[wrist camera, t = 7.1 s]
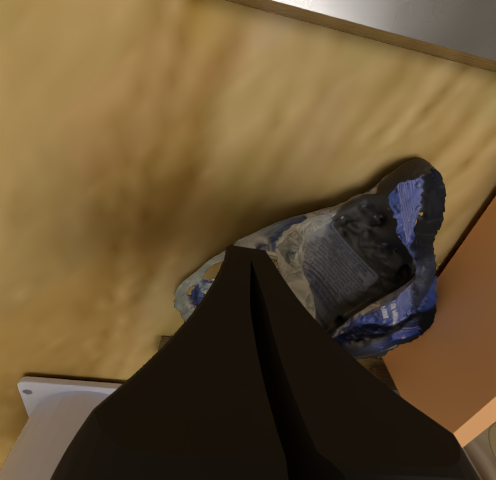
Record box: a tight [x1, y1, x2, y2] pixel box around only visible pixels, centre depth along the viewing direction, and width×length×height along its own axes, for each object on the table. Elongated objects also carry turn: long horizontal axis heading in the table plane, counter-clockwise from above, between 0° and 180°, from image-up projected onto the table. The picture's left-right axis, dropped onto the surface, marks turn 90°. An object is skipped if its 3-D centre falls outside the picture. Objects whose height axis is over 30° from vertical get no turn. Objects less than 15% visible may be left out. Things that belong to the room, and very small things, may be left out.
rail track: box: [158, 0, 496, 396], centre depth 13 cm, size 18×18×2 cm
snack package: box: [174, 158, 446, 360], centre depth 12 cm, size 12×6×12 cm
